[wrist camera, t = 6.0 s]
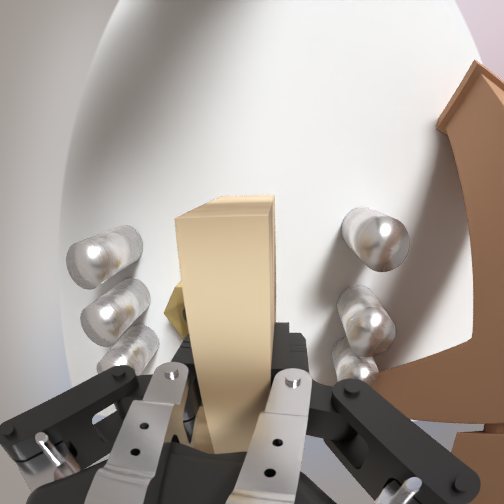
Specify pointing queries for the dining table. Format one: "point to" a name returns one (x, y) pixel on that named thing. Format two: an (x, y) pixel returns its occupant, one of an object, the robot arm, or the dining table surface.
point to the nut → (177, 311)
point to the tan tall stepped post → (484, 296)
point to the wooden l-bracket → (229, 313)
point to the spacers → (138, 297)
